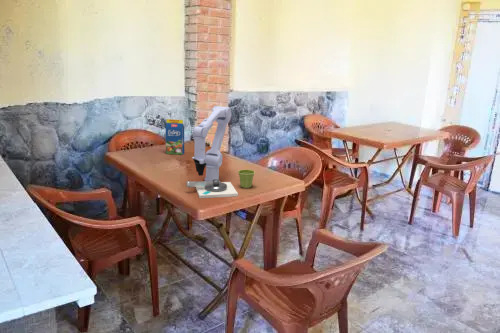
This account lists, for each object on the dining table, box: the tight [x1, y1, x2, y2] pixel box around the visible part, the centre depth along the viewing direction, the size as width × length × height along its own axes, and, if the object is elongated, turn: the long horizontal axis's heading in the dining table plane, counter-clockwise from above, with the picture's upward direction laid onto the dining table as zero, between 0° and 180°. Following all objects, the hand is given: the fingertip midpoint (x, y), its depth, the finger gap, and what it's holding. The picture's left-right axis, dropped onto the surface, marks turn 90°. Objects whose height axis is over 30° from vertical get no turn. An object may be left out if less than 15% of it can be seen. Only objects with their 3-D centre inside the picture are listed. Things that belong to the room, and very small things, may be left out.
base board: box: [195, 181, 239, 199], centre depth 220 cm, size 20×20×2 cm
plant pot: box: [237, 169, 256, 189], centre depth 228 cm, size 9×9×9 cm
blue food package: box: [165, 118, 185, 156], centre depth 294 cm, size 6×12×25 cm, turn 84°
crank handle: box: [186, 179, 227, 192], centre depth 218 cm, size 22×12×4 cm, turn 104°
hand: (199, 173), depth 221 cm, fingers open, 7 cm apart
